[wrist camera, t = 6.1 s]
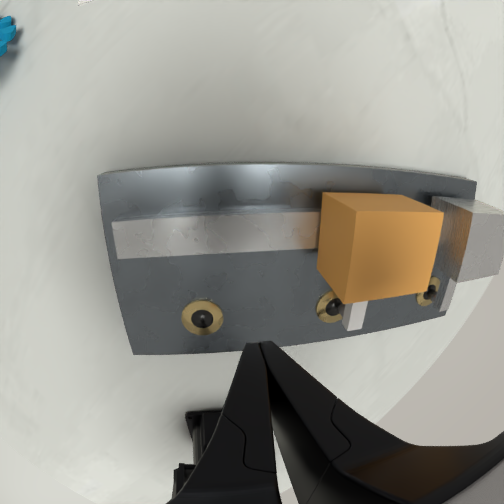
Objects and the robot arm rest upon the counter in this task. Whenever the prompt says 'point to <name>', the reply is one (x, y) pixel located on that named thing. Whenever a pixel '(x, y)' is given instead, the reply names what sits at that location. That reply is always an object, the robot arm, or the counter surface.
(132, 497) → the counter surface
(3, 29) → the gear
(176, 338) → the hole plate
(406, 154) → the counter surface
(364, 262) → the divider leg
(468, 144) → the counter surface
